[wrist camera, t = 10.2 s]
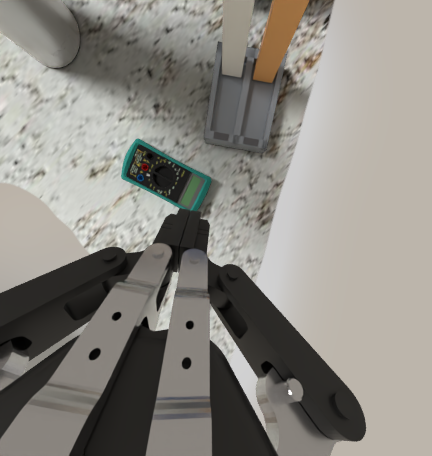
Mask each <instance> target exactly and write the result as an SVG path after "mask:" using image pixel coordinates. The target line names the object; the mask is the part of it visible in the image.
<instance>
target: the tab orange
mask: <svg viewBox="0 0 432 456" xmlns="http://www.w3.org/2000/svg"><path fill="white" fill-rule="evenodd" d="M308 3H309V0H273V1H272V5H271V9H270V12H269V16H268V20H267V24H266V27H265V31H264V35H263V39H262V42H261V46H260V50H259V53H258V57H257V61H256V65H255V70H254V75H253V80H258V81H263V82H268V83H272V82H273V80H274V77H275V75H276V73H277V71H278V69H279V66H280V64H281V62H282V60H283V58H284V55H285V53H286V51H287V49H288V47H289V44H290V42H291V40H292V38H293V36H294V33H295V31H296V29H297V27H298V25H299V22H300V20H301V18H302V16H303V14H304V11H305V9H306V7H307V5H308Z"/></svg>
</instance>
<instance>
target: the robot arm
mask: <svg viewBox="0 0 432 456" xmlns="http://www.w3.org/2000/svg"><path fill="white" fill-rule="evenodd" d="M0 33H2V34H3V35H4V36H6V37H7V38H8V39H10V40H11V41H12V42H14V43H15V44H16V45H17V46H19V47H20V48H21V49H23V50H24V51H25V52H27V53H28V54H29V55H31V56H32V57H33V58H35V59H36V60H37V61H39V62H40V63H42V64H43V65H46V66H48V67H52V68H60V67H63V66H66V65H68V64H69V63H70V62H71V61H72V60H73V59H74V58H75V56H76V54H77V52H78V49H79V44H80V33H79V28H78V25H77V22H76V20H75V18H74V16H73V15H72V13H71V12H70V10H69V9H68V8H67V6H66V5H65V4H64V3H63V2H62V0H0ZM200 217H201V212H199V211H193V210H191V211H190V210H188V209H182V208H180V209H179V211H178V213H177V215H175V214H170V215H169V216H167V217H166V218H165V220H164V222H163V224H162V226H161V228H160V230H159V232H158V234H157V236H156V238H155V240H154V242H153V244H152V245H150V246H148V247H147V248H146V249H145V250H144V251H141V252H135V253H125V251H124V250H123V249H121V248H119V247H108V248H105V249H102V250H100V251H98V252H95V253H93V254H91V255H88V256H86V257H84V258H81V259H79V260H77V261H74V262H72V263H70V264H68V265H65V266H63V267H60V268H58V269H56V270H53V271H51V272H49V273H46V274H44V275H42V276H39V277H37V278H35V279H32V280H30V281H28V282H25V283H23V284H21V285H18V286H16V287H14V288H11V289H9V290H7V291H4V292H2V293H0V456H330V454H331V451H332V449H333V447H334V444H335V443H336V442H339V441H342V440H343V441H360V440H361V439H362V438H363V437H364V435H365V432H366V423H365V417H364V414H363V411H362V409H361V407H360V404H359V402H358V401H357V399H356V397H355V396H354V394H353V393H352V392H351V390H350V389H349V388H348V387H347V386H346V385H345V384H344V382H343V381H342V380H341V379H340V378H339V377H338V376H337V375H336V374H335V373H334V371H333V370H332V369H331V368H330V367H329V366H328V365H327V364H326V362H325V361H324V360H323V359H322V358H321V357H320V356H319V355H318V354H317V352H316V351H315V350H314V349H313V348H312V347H311V346H310V345H309V344H308V342H307V341H306V340H305V339H304V338H303V337H302V336H301V335H300V333H299V332H298V331H297V330H296V329H295V328H294V327H293V326H292V325H291V323H289V321H288V320H287V319H286V318H285V317H284V316H283V315H282V313H281V312H280V311H279V310H278V309H277V308H276V307H275V306H274V305H273V304H272V302H271V301H270V300H269V299H268V298H267V297H266V296H265V295H264V293H262V291H261V290H260V289H259V288H258V287H257V286H256V285H255V283H254V282H253V281H252V280H251V279H250V278H249V277H248V276H247V275H246V273H245V272H244V271H243V270H242V269H241V268H240V267H238V266H236V265H233V264H227V265H224V266H223V267H220V266H218V265H216V264H214V263H212V262H211V261H210V260H209V258H208V257H207V245H208V236H209V228H210V225H209V223H208V220H203V219H200ZM178 268H179V269H178ZM177 271H178V273H179V277H178V283H177V288H176V291H175V295H174V301H173V307H172V312H171V318H170V324H169V329H167V330H161V331H155V330H156V326H157V322H158V317H159V314H160V311H161V308H162V306H163V303H164V301H165V298H166V295H167V293H168V290H169V287H170V285H171V277H172V273H173V272H177ZM210 304H211V305H212V307H213V309H214V310H215V312H216V313H217V315H218V317H219V318H220V320H221V321H222V323H223V324H224V326H225V327H226V329H227V331H228V332H229V334H230V335H231V337H232V338H233V340H234V341H235V343H236V345H237V346H238V348H239V349H240V351H241V352H242V354H243V355H244V357H245V358H246V360H247V362H248V363H249V365H250V366H251V368H252V369H253V371H254V372H255V374H256V375H257V377H258V381H257V384H256V397H257V401H258V404H259V406H260V408H261V411H262V413H263V415H264V418H265V423H266V431H265V430H264V428H263V426H262V424H261V422H260V421H259V419H258V417H257V415H256V413H255V411H254V409H253V407H252V405H251V404H250V402H249V400H248V398H247V396H246V394H245V393H244V391H243V389H242V387H241V385H240V383H239V381H238V380H237V378H236V376H235V374H234V372H233V370H232V368H231V367H230V365H229V363H228V361H227V359H226V357H225V356H224V354H223V353H222V351H221V350H220V349H219V348H218V347H217V346H216V345H215V344H214V343H213V342H212V341H211V340H210ZM89 321H90V322H89ZM87 322H89V323H88V325H87V326H86V328H85V329H84V331H83V332H82V333H81V334H80V335H79V336H77V337H75V338H74V339H72V340H71V341H69V342H68V343H66V344H65V345H63V346H62V347H61V348H59V349H58V350H56V351H55V352H54V353H52V354H51V355H50V356H48V357H47V358H45V359H44V360H43V361H41V362H40V363H38V364H37V365H36V366H34V367H33V368H31V369H30V370H29V371H27V372H26V373H25V368H26V366H27V364H28V361H30V360H31V359H33V358H34V357H36V356H38V355H39V354H41V353H42V352H44V351H45V350H47V349H48V348H50V347H51V346H53V345H54V344H55V343H57V342H59V341H60V340H62V339H63V338H65V337H66V336H68V335H69V334H71V333H72V332H74V331H75V330H77V329H78V328H80V327H81V326H83V325H84V324H86V323H87Z"/></svg>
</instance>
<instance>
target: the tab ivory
mask: <svg viewBox="0 0 432 456" xmlns="http://www.w3.org/2000/svg"><path fill="white" fill-rule="evenodd" d="M254 2H255V0H223V34H222V74H223V75H229V76H234V77H240V78H241V76H242V70H243V64H244V59H245V53H246V47H247V42H248V36H249V30H250V25H251V19H252V14H253V8H254Z"/></svg>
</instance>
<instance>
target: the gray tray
mask: <svg viewBox="0 0 432 456" xmlns="http://www.w3.org/2000/svg"><path fill="white" fill-rule="evenodd" d="M259 50H260V49H256V48H251V47H246V53H245V59H244V64H243V70H242V76H241V78H240V77H234V76H229V75H223V74H222V42H219V41H218V45H217V52H216V59H215V65H214V72H213V79H212V86H211V93H210V99H209V106H208V113H207V120H206V126H205V133H204V140H205V143H209V144H215V145H220V146H226V147H231V148H237V149H242V150H248V151H253V152H259V153H263V152H264V151H265V150H266V149H267V145H268V140H269V136H270V131H271V126H272V122H273V117H274V112H275V108H276V103H277V99H278V94H279V89H280V85H281V80H282V76H283V71H284V66H285V62H286V57H287V54H285V55H284V58H283V60H282V62H281V64H280V66H279V69H278V71H277V73H276V75H275V77H274V80H273V82H272V83H268V82H263V81H258V80H253V75H254V70H255V65H256V61H257V57H258V53H259Z"/></svg>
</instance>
